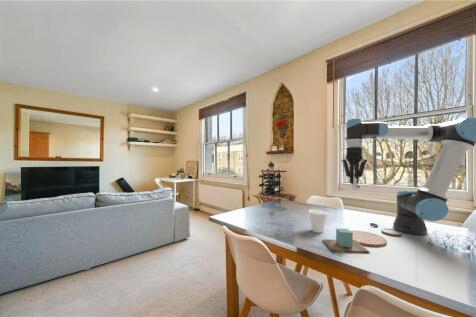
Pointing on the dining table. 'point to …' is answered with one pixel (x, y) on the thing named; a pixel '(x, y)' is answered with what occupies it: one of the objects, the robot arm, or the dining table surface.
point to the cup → (317, 220)
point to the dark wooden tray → (337, 248)
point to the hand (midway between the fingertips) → (354, 189)
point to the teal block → (344, 237)
